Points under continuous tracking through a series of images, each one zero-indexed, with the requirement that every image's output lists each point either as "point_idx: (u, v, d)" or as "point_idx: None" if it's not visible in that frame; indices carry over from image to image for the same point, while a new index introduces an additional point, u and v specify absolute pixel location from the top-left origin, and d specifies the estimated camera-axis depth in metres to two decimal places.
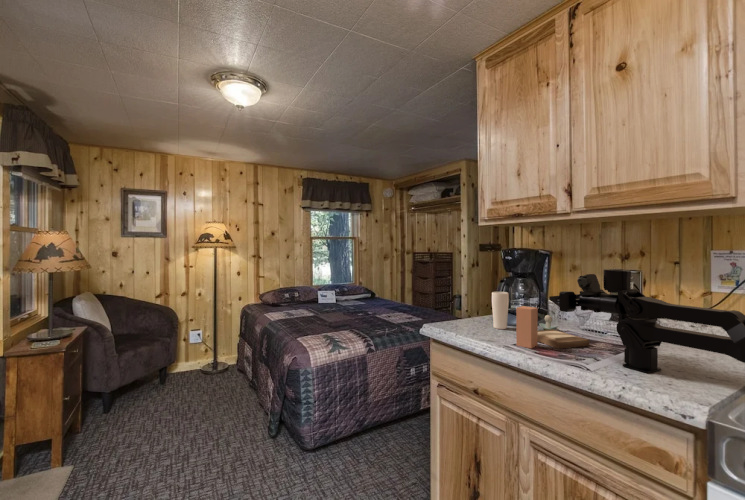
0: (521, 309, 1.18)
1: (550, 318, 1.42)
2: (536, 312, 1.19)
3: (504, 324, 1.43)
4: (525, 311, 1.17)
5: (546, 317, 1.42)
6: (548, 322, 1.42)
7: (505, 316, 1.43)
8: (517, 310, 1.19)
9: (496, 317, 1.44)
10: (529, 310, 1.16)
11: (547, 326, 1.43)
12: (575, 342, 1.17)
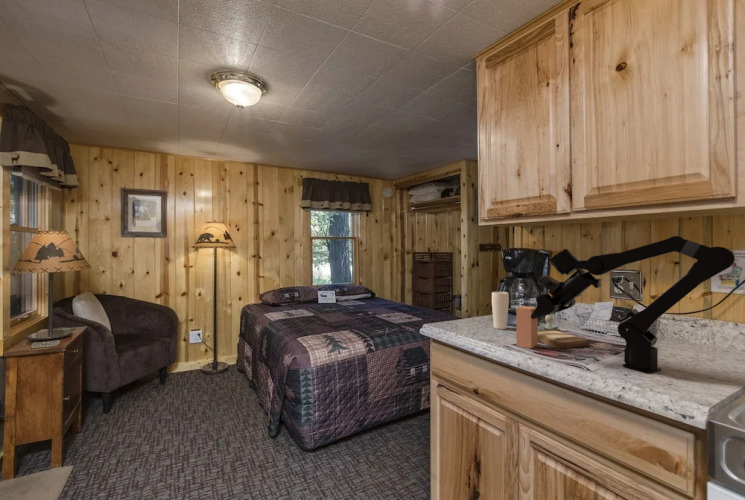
0: (521, 309, 1.18)
1: (550, 318, 1.42)
2: None
3: (504, 324, 1.43)
4: (525, 311, 1.17)
5: (546, 317, 1.43)
6: (549, 322, 1.42)
7: (505, 316, 1.43)
8: (517, 310, 1.19)
9: (496, 317, 1.44)
10: (529, 310, 1.16)
11: (548, 326, 1.43)
12: (575, 342, 1.17)
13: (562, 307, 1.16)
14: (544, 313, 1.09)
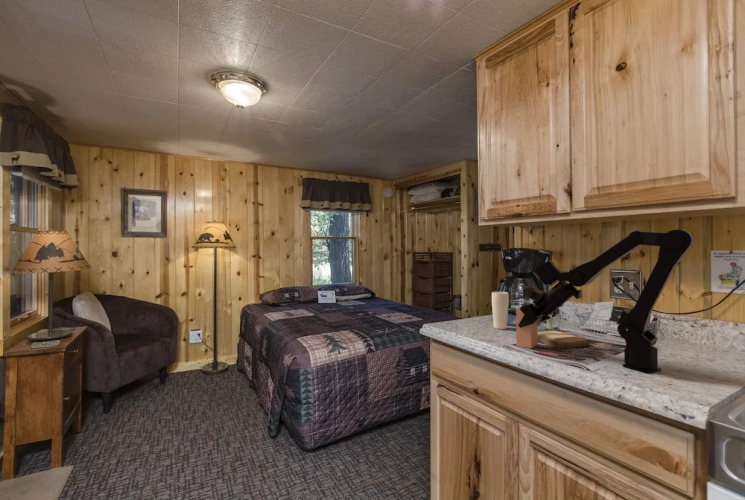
0: None
1: (551, 318, 1.42)
2: None
3: (504, 324, 1.43)
4: None
5: None
6: (549, 322, 1.43)
7: (505, 316, 1.43)
8: (517, 310, 1.19)
9: (496, 317, 1.44)
10: None
11: (548, 326, 1.43)
12: (575, 342, 1.17)
13: (544, 317, 1.18)
14: (530, 322, 1.14)
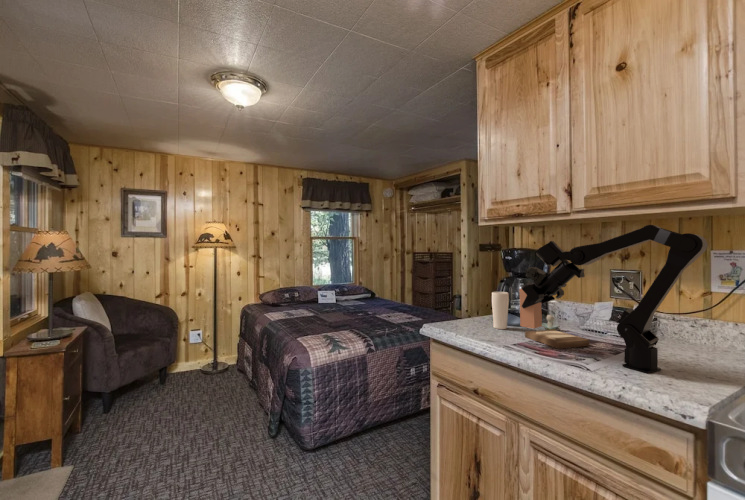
0: None
1: (552, 318, 1.42)
2: None
3: (504, 324, 1.43)
4: None
5: (548, 317, 1.43)
6: (550, 322, 1.43)
7: (505, 316, 1.43)
8: (520, 291, 1.21)
9: (496, 317, 1.44)
10: None
11: (549, 326, 1.43)
12: (575, 342, 1.17)
13: (548, 298, 1.19)
14: (533, 302, 1.15)
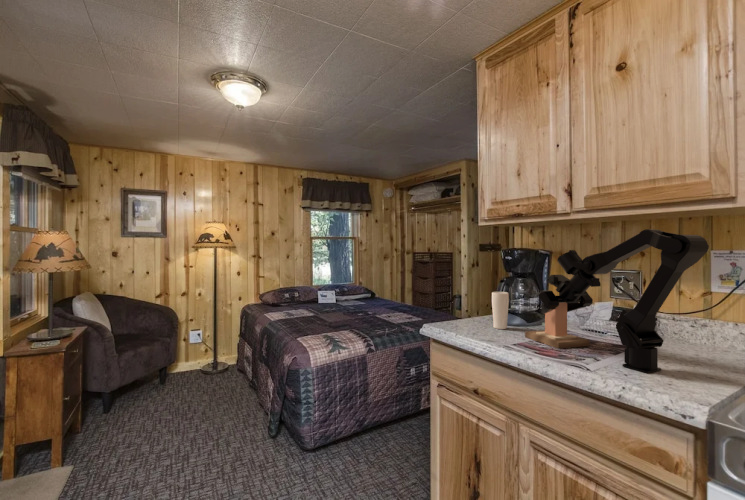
0: None
1: None
2: (565, 303, 1.23)
3: (504, 324, 1.43)
4: None
5: None
6: None
7: (505, 316, 1.43)
8: None
9: (496, 317, 1.44)
10: None
11: None
12: (575, 342, 1.17)
13: (577, 305, 1.22)
14: (548, 308, 1.20)
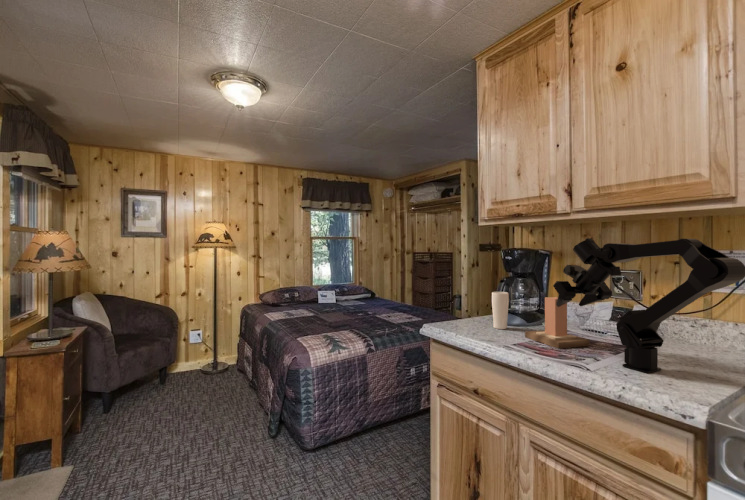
0: (548, 299, 1.25)
1: None
2: None
3: (504, 324, 1.43)
4: (551, 301, 1.24)
5: None
6: None
7: (505, 316, 1.43)
8: (545, 300, 1.26)
9: (496, 317, 1.44)
10: (554, 300, 1.22)
11: None
12: (575, 342, 1.17)
13: (595, 298, 1.15)
14: (563, 300, 1.14)
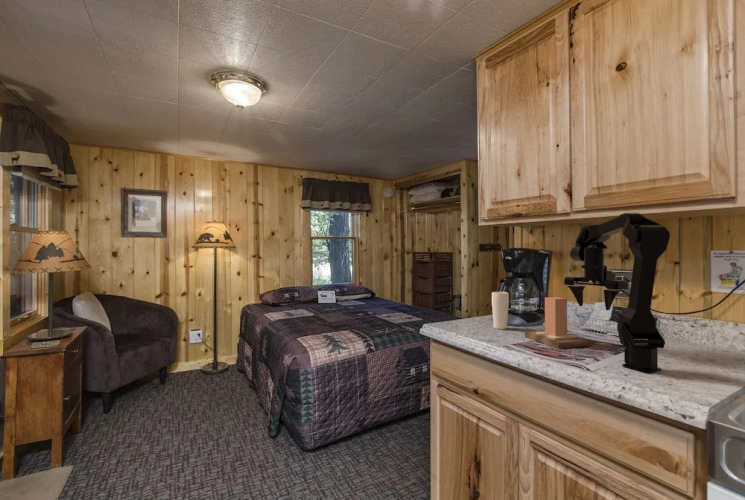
0: (548, 299, 1.25)
1: None
2: (565, 303, 1.23)
3: (504, 324, 1.43)
4: (551, 301, 1.24)
5: None
6: None
7: (505, 316, 1.43)
8: (545, 300, 1.26)
9: (496, 317, 1.44)
10: (554, 300, 1.22)
11: None
12: (575, 342, 1.17)
13: None
14: None
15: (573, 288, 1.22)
